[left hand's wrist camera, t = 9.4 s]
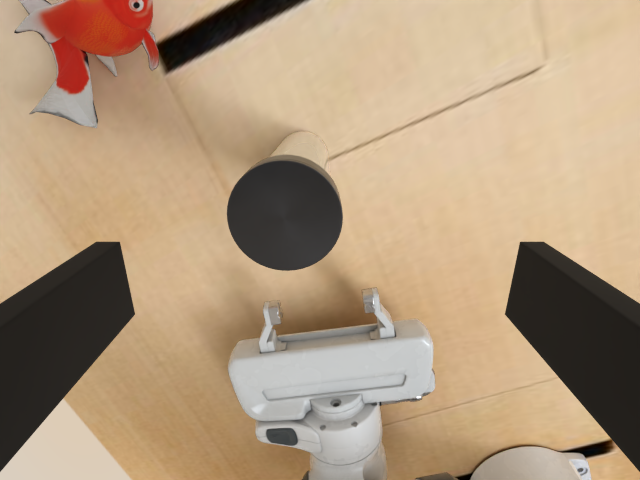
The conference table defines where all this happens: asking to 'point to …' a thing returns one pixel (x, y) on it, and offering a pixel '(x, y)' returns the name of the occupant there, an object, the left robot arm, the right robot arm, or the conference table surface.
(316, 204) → the lid
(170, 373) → the conference table surface
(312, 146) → the jar
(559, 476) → the right robot arm
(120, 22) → the fish
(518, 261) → the left robot arm
